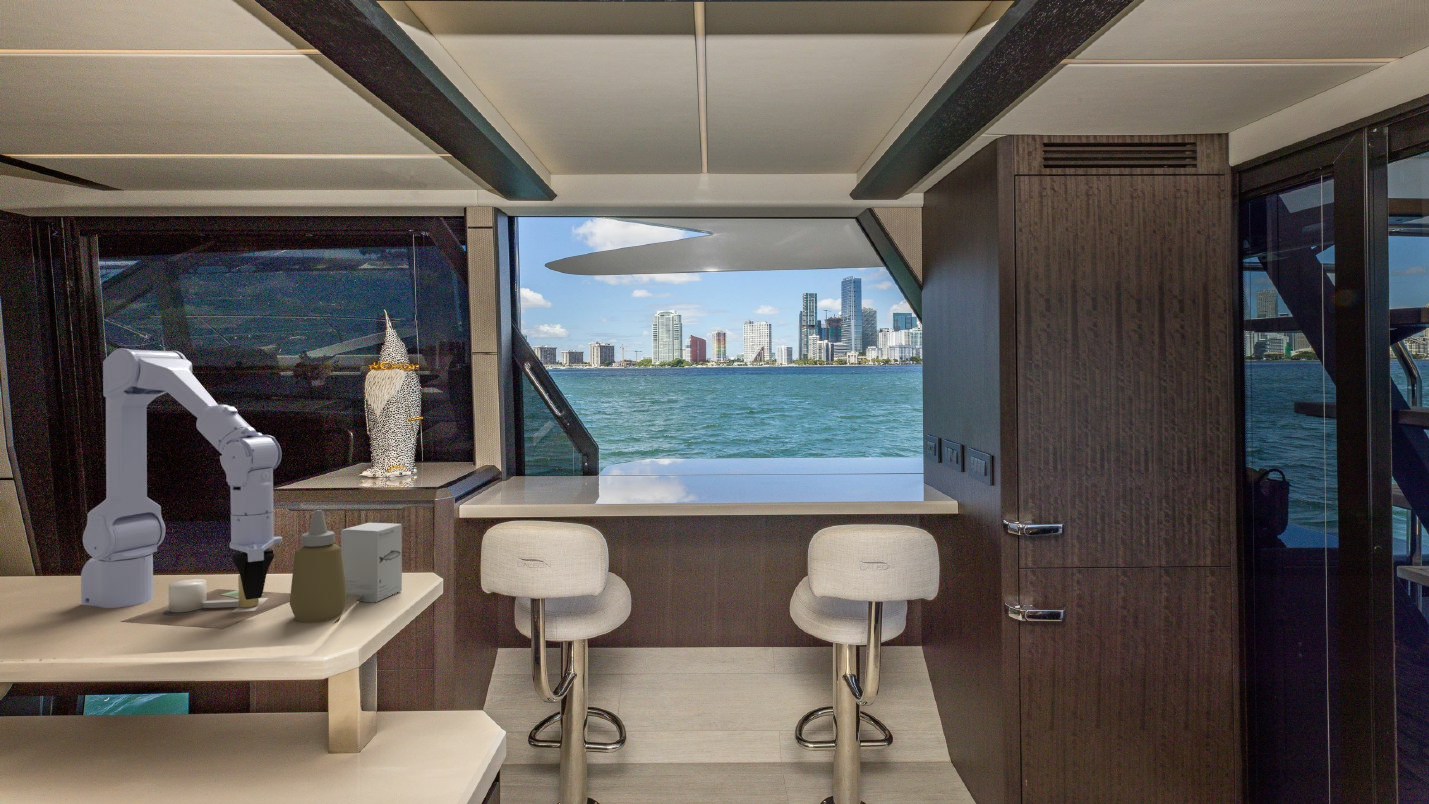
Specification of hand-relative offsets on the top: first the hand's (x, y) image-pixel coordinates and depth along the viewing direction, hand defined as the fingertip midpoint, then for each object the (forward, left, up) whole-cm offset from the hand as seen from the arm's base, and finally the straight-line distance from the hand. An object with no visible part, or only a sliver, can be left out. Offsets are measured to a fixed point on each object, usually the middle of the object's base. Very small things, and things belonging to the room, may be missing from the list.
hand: (253, 597), depth 116 cm
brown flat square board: (-9, +3, -4) cm, 10 cm away
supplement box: (+9, +17, -4) cm, 20 cm away
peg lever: (-9, +2, -3) cm, 10 cm away
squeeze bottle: (+10, +2, -4) cm, 11 cm away
